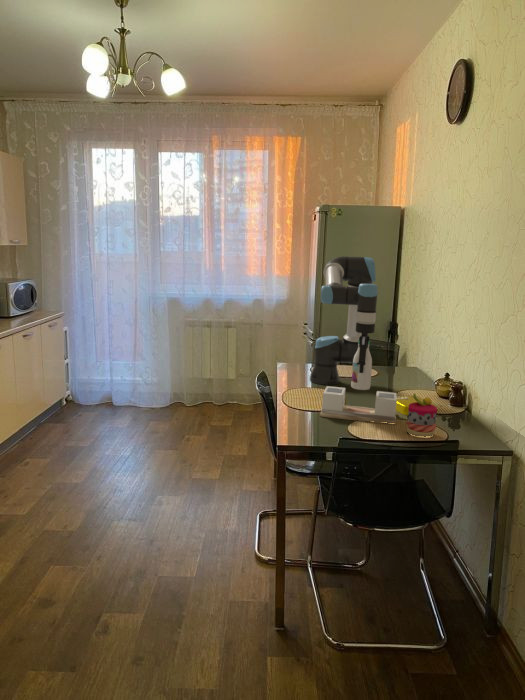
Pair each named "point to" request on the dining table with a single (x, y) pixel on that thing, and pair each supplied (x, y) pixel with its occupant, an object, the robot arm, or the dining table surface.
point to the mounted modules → (336, 400)
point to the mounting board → (357, 414)
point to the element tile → (405, 403)
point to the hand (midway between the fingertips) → (361, 378)
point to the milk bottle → (368, 368)
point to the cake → (421, 417)
